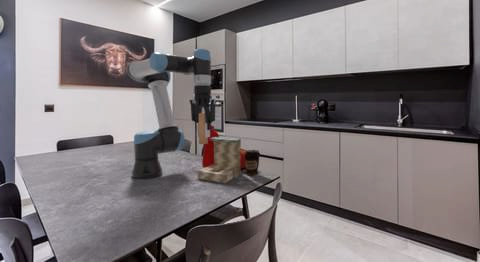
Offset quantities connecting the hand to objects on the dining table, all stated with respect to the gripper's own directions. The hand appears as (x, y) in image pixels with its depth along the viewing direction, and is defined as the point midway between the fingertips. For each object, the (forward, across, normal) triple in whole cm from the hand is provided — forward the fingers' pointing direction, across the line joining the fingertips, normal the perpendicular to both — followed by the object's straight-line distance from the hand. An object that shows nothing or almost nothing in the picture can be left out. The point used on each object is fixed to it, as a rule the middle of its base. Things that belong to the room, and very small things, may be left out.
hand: (203, 136), depth 108 cm
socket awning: (+23, 0, +15) cm, 27 cm away
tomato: (+23, +2, +34) cm, 41 cm away
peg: (+3, 0, 0) cm, 3 cm away
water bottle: (+23, -16, +29) cm, 40 cm away
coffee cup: (+23, +14, +25) cm, 37 cm away
